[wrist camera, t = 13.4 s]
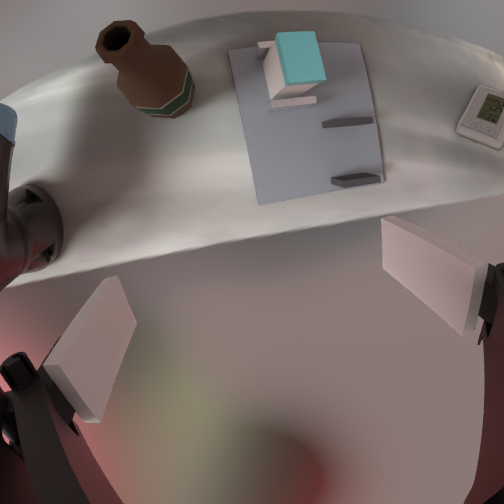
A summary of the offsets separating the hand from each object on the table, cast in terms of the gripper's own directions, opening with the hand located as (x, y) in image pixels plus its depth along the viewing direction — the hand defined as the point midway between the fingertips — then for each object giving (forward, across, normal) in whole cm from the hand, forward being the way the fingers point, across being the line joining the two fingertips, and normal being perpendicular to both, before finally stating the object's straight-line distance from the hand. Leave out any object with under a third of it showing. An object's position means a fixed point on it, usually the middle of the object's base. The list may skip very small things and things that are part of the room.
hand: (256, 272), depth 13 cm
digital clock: (+31, +51, +9) cm, 60 cm away
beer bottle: (+31, -6, +16) cm, 35 cm away
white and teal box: (+30, +10, +15) cm, 35 cm away
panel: (+31, +14, +9) cm, 35 cm away
